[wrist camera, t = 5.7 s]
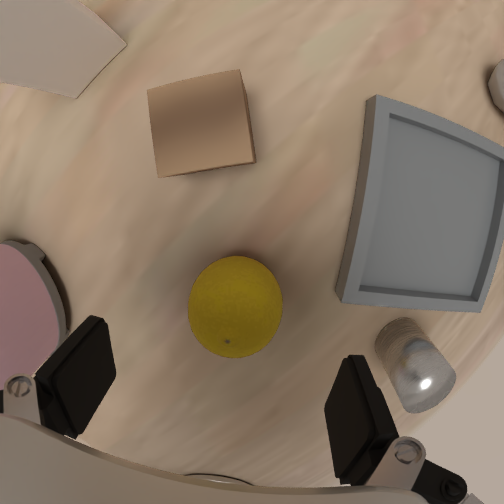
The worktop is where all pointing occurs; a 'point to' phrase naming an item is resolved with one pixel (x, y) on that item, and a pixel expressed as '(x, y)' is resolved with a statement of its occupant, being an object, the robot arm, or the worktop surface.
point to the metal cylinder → (414, 365)
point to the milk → (53, 45)
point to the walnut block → (201, 124)
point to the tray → (423, 213)
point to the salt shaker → (497, 85)
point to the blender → (27, 311)
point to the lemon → (235, 307)
